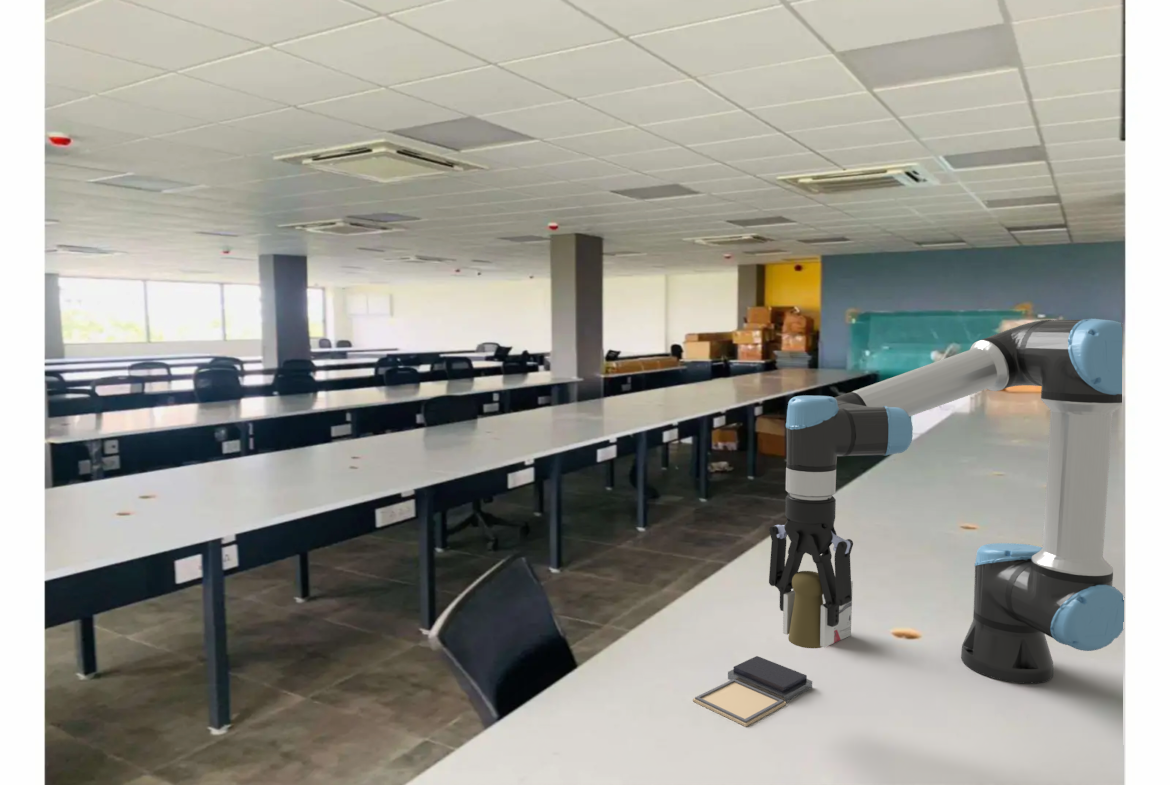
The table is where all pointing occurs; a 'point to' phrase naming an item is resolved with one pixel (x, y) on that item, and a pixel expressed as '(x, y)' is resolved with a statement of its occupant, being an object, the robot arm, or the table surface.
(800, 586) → the olive chess pawn
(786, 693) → the ink pad
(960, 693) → the table surface
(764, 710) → the print card
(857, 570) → the table surface
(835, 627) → the ink box
